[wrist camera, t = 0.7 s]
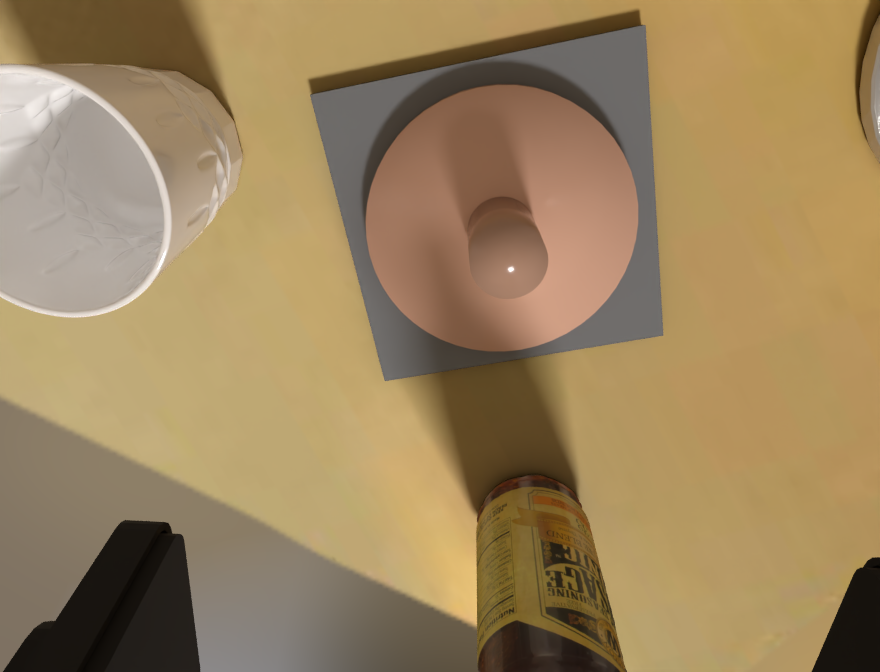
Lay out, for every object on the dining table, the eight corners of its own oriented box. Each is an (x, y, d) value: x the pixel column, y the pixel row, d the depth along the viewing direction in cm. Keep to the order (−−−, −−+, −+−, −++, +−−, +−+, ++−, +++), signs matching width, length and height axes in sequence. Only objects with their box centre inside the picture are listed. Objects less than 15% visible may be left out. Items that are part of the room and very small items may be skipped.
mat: (641, 25, 27) (645, 24, 26) (659, 330, 33) (663, 335, 32) (312, 93, 28) (310, 95, 28) (385, 375, 34) (384, 381, 34)
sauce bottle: (604, 521, 38) (741, 966, 20) (513, 569, 40) (565, 1020, 22) (542, 444, 36) (633, 865, 18) (449, 498, 37) (446, 933, 19)
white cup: (51, 66, 28) (-140, 84, 19) (230, 40, 28) (121, 45, 18) (114, 243, 31) (-24, 330, 22) (274, 223, 31) (201, 303, 22)
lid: (621, 56, 27) (659, 63, 22) (641, 320, 32) (675, 373, 27) (338, 114, 28) (314, 133, 23) (400, 360, 33) (391, 418, 28)
